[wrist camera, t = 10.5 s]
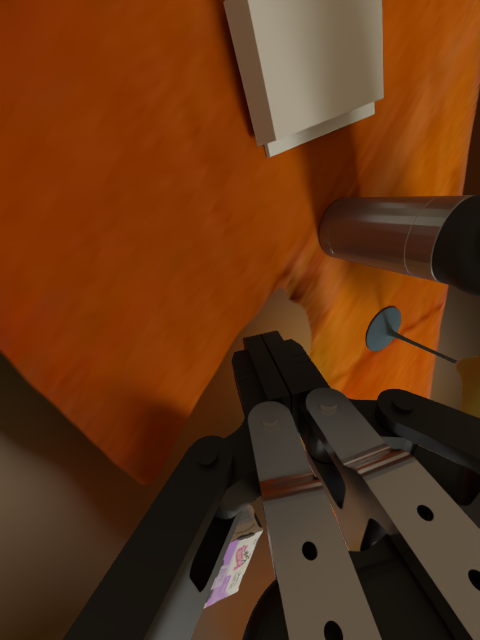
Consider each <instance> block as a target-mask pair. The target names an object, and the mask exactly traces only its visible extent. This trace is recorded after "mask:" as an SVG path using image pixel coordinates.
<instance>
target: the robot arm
mask: <svg viewBox="0 0 480 640" xmlns="http://www.w3.org/2000/svg"><path fill="white" fill-rule="evenodd" d="M319 239H320V244H321V247H322V249H323V251H324V252H325V253H326V254H327V255H329V256H331V257H335V258H339V259H343V260H347V261H351V262H355V263H359V264H364V265H368V266H372V267H376V268H381V269H385V270H389V271H393V272H397V273H402V274H406V275H410V276H415V277H419V278H423V279H427V280H432V281H436V282H441V283H444V284H448V285H452V286H454V287H456V288H458V289H459V290H461V291H463V292H465V293H468V294H470V295H473V296H476V297H479V298H480V195H475V196H420V197H346V198H341V199H338V200H336V201H335V202H334V203H333V204H331V206H330V207H329V208H328V209H327V211H326V212H325V214H324V216H323V218H322V221H321V225H320V231H319ZM243 344H244V350H242V351H238V352H234V355H233V358H232V366H233V371H234V377H235V382H236V387H237V391H238V395H239V399H240V402H241V406H242V410H243V413H244V417H245V419H244V421H243V423H242V425H241V426H240V428H238V429H237V430H236V431H235V432H234V433H232V434H231V435H229V436H228V437H226V438H224V439H223V438H221V437H218V436H206V437H203V438H201V439H199V440H197V441H196V442H194V443H193V444H192V445H191V446H190V448H189V449H188V451H187V452H186V454H185V455H184V457H183V458H182V460H181V461H180V463H179V464H178V466H177V467H176V469H175V470H174V472H173V473H172V475H171V477H170V478H169V480H168V481H167V483H166V484H165V485H164V487H163V488H162V490H161V492H160V493H159V495H158V496H157V498H156V499H155V501H154V502H153V504H152V505H151V507H150V508H149V510H148V511H147V513H146V514H145V516H144V517H143V519H142V520H141V522H140V523H139V525H138V526H137V528H136V529H135V531H134V532H133V534H132V535H131V537H130V538H129V540H128V542H127V543H126V544H125V546H124V547H123V549H122V550H121V552H120V554H119V555H118V557H117V558H116V560H115V561H114V563H113V564H112V566H111V567H110V569H109V570H108V572H107V573H106V575H105V576H104V578H103V580H102V581H101V582H100V584H99V585H98V587H97V588H96V590H95V591H94V593H93V594H92V596H91V597H90V599H89V601H88V602H87V603H86V605H85V607H84V608H83V610H82V611H81V613H80V614H79V616H78V617H77V619H76V620H75V622H74V623H73V625H72V626H71V628H70V629H69V631H68V632H67V634H66V635H65V637H64V638H63V640H190V639H191V637H192V635H193V632H194V630H195V627H196V625H197V622H198V619H199V617H200V615H201V612H202V610H203V608H204V605H205V603H206V600H207V598H208V595H209V593H210V590H211V588H212V586H213V583H214V581H215V578H216V576H217V573H218V571H219V568H220V566H221V563H222V561H223V559H224V556H225V554H226V551H227V549H228V546H229V544H230V541H231V539H232V536H233V534H234V532H235V529H236V527H237V524H238V522H239V519H240V517H241V514H242V511H243V509H244V508H246V507H247V506H248V505H249V504H251V503H252V502H253V501H254V500H256V499H257V498H258V497H259V496H261V500H262V505H263V511H264V517H265V522H266V527H267V533H268V538H269V544H270V550H271V556H272V561H273V566H274V572H275V578H276V580H274V581H273V582H272V583H271V584H270V586H269V587H268V588H267V589H266V590H265V591H264V593H263V594H262V596H261V597H260V599H259V600H258V602H257V604H256V606H255V608H254V610H253V611H252V614H251V616H250V618H249V621H248V624H247V626H246V629H245V632H244V635H243V639H242V640H480V418H478V417H475V416H473V415H470V414H467V413H465V412H462V411H459V410H456V409H454V408H451V407H448V406H446V405H443V404H440V403H438V402H434V401H432V400H430V399H427V398H424V397H421V396H419V395H416V394H413V393H411V392H408V391H405V390H401V389H388V390H385V391H383V392H381V393H380V394H379V396H378V399H377V400H354V399H349V398H347V397H346V396H345V395H344V394H343V393H341V392H339V391H338V390H335V389H332V388H330V386H329V385H328V383H327V382H326V381H325V379H324V378H323V376H322V375H321V373H320V372H319V371H318V369H317V368H316V366H315V365H314V363H313V362H311V359H310V358H309V356H308V355H307V354H306V352H305V350H304V349H303V347H302V346H301V345H300V344H298V343H297V342H295V341H294V340H292V339H289V340H285V341H284V340H283V339H282V337H281V336H280V334H279V332H278V331H272V332H268V333H264V334H260V335H255V336H250V337H246V338H243ZM300 437H301V438H302V440H303V442H304V444H305V450H304V448H303V445H302V442H301V439H300ZM419 445H420V446H419ZM421 446H422V447H421ZM423 447H424V448H423ZM425 448H426V449H425ZM427 449H429V450H431V451H429V450H427ZM432 451H433V452H432ZM434 452H435V453H434ZM436 453H437V454H436ZM438 454H439V455H438ZM440 455H441V456H440ZM442 456H443V457H442ZM444 457H446V458H448V459H446V458H444ZM449 459H450V460H449ZM451 460H452V461H451ZM453 461H454V462H453ZM455 462H456V463H455ZM457 463H458V464H457ZM460 464H461V465H460ZM310 466H311V467H310ZM311 468H312V470H313V471H314V473H315V475H316V477H315V476H314V474H313V472H312V470H311ZM329 502H330V503H331V505H332V507H333V509H334V511H335V513H336V516H337V518H338V522H339V525H340V529H341V532H342V534H341V532H340V529H339V526H338V524H337V521H336V518H335V516H334V513H333V511H332V508H331V505H330V503H329ZM342 535H343V537H342ZM343 538H344V539H343ZM344 540H345V542H346V545H347V546H348V549H349V551H348V550H347V547H346V545H345V542H344Z"/></svg>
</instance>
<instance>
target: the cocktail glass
mask: <svg viewBox="0 0 480 640" xmlns="http://www.w3.org/2000/svg"><path fill="white" fill-rule="evenodd" d="M400 323H401V314H400V311H399V310H398V309H397V308H395V307H389V308H386V309H384V310H382V311H381V312H380V313H379V314H378V315H377V316H376V317H375V318H374V319H373V321H372V322H371V324H370V326H369V328H368V331H367V335H366V344H367V347H368V348H369V349H370V350H372V351H379V350H382V349H383V348H385V347H386V346H387V345H388V344H389V343H390V342H391V341H392V340H393V339H394V337H395V338H398V339H401V340H403V341H406V342H408V343H410V344H412V345H415V346H417V347H419V348H422V349H424V350H426V351H428V352H431V353H433V354H435V355H437V356H440V357H442V358H444V359H446V360H448V361H450V362H453V363H455V368H456V370H457V372H458V374H459V375H460V377H461V379H462V412H465V413H467V414H470V415H473V416H475V417H478V418H480V355H479V356H476V357H469V358H462V359H459V360H454V359H452V358H450V357H447V356H445V355H443V354H441V353H438V352H436V351H434V350H432V349H430V348H427V347H425V346H423V345H421V344H419V343H416V342H414V341H412V340H410V339H408V338H406V337H404V336H402V335H400V334H398V333H397V332H398V329H399V327H400Z"/></svg>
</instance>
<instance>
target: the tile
mask: <svg viewBox="0 0 480 640" xmlns="http://www.w3.org/2000/svg"><path fill="white" fill-rule="evenodd" d="M224 8H225V12H226V16H227V20H228V24H229V29H230V33H231V37H232V41H233V45H234V50H235V54H236V58H237V62H238V66H239V71H240V75H241V79H242V83H243V87H244V91H245V96H246V100H247V104H248V108H249V112H250V117H251V121H252V125H253V129H254V133H255V138H256V142H257V146H258V147H259V146H262V145H265V144H267V143H270V142H273V141H276V140H279V139H281V138H284V137H286V136H289V135H291V134H294V133H296V132H299V131H301V130H304V129H307V128H309V127H312V126H314V125H317V124H319V123H322V122H324V121H327V120H329V119H332V118H334V117H337V116H339V115H342V114H344V113H347V112H349V111H352V110H355V109H357V108H360V107H362V106H365V105H367V104H370V103H372V102H375V101H377V100H380V99H382V98H383V39H382V0H225V1H224Z"/></svg>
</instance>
